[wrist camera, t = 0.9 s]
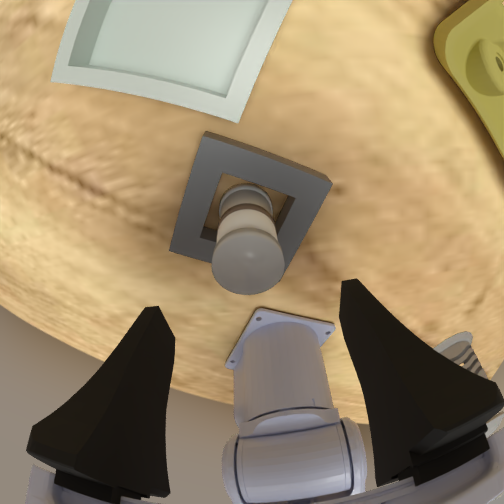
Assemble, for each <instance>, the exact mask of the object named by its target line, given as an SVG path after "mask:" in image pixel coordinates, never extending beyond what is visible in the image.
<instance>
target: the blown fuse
mask: <svg viewBox="0 0 504 504" xmlns="http://www.w3.org/2000/svg"><path fill="white" fill-rule="evenodd" d="M272 215H273V208H272V204H271V200H270V197H269V195H268V194H267V192H266V191H265V190H264V189H262V188H261V187H259V186H257V185H255V184H250V183H241V184H237V185H234V186H232V187H231V188H229V189H228V190H227V191H226V192H225V193H224V195H223V196H222V198H221V201H220V207H219V217H220V219H219V223H218V230H217V243H216V246H215V248H214V251H213V258H212V273H213V275H214V278H215V279H216V281H217V282H218V283H219V284H220V285H221V286H222V287H223V288H225V289H227V290H228V291H231V292H233V293H236V294H242V295H253V294H258V293H262V292H264V291H267V290H269V289H270V288H272V287H273V286H274V285H276V284H277V283H278V281H279V280H280V279H281V277H282V275H283V272H284V267H285V263H284V258H283V253H282V249H281V246H280V244H279V242H278V239H277V234H276V227H275V222H274V219H273V216H272Z"/></svg>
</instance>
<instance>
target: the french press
mask: <svg viewBox="0 0 504 504" xmlns="http://www.w3.org/2000/svg"><path fill="white" fill-rule="evenodd" d="M472 338H473V336H472V334H471V333H470V332H462V333H458V334H456V335H454V336H452V337H450V338H448V339H446V340H444V341H443V342H442V343H440V344H439V345H437V346H436V347H435V348H433V349H434V350H436V351H437V352H438V353H440V354H442V355H443V356H445V357H446V358H448V359H450V360H451V361H453V362H454V363H456V364H458V365H460V364H461V363H463V362H464V364H465V365H464V366H462V367H463V368H465V369H467V370H469V371H471V372H473V373H475V374H477V375H479V376H482V377H484V378H486V379H488V378H487V376H486V373H485V371H484V369H483V368H482V366H481V364H480V362H479V361H478V358H477V356H476V354H475V353H474V350H473V349H472V348H471V343H472ZM503 417H504V412H500V413H499V414H497V415H495V416H493V417H492V418H491V419H490V420H489V421H488V422H486V425H487V427H488V431H487V432H486V433H485V435H486V438H487V437H488V436H490V435H491V434H492V433H493V432H494V431H495V429H496V428H497V427H498V426H499V424H500V423H501V421H502V419H503ZM503 493H504V491H503V492H502V493H501V494H499V495H498V496H497V497H496V498H494V499H497V498H500V497H501V496H502V495H503Z"/></svg>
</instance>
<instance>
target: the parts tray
mask: <svg viewBox="0 0 504 504" xmlns="http://www.w3.org/2000/svg"><path fill="white" fill-rule="evenodd" d="M292 1H293V0H76V1H75V4H74V6H73V9H72V11H71V14H70V16H69V19H68V22H67V25H66V28H65V31H64V34H63V37H62V40H61V43H60V46H59V50H58V53H57V57H56V61H55V65H54V69H53V73H52V77H51V82H57V83H66V84H74V85H82V86H89V87H95V88H101V89H107V90H113V91H118V92H123V93H128V94H133V95H138V96H142V97H147V98H151V99H155V100H160V101H164V102H168V103H172V104H175V105H179V106H183V107H187V108H190V109H194V110H197V111H201V112H204V113H207V114H211V115H214V116H217V117H220V118H223V119H226V120H229V121H233V122H236V123H239V120H240V118H241V115H242V113H243V110H244V108H245V105H246V103H247V100H248V98H249V95H250V93H251V91H252V88H253V86H254V83H255V81H256V79H257V76H258V74H259V72H260V69H261V67H262V65H263V63H264V60H265V58H266V56H267V54H268V51H269V49H270V47H271V45H272V42H273V40H274V38H275V36H276V34H277V32H278V29H279V27H280V25H281V23H282V21H283V19H284V17H285V15H286V13H287V11H288V9H289V7H290V5H291V3H292Z"/></svg>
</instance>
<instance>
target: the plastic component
mask: <svg viewBox="0 0 504 504" xmlns="http://www.w3.org/2000/svg"><path fill="white" fill-rule="evenodd" d="M503 1H504V0H469V1H468V2H466V3H465V4H464V5H462V6H461V7H460V8H459V9H457V10H456V11H455V12H454V13H452V14H451V15H450V16H449V17H447V18H446V19H445V20H444V21H442V22H441V23H440V24H439V25H438V27H437V28H436V30H435V33H434V39H433V44H434V50H435V54H436V56H437V58H438V60H439V62H440V64H441V65H442V66H443V67H444V69H445V70H446V71H447V72H448V74H449V75H450V76H451V77H452V79H453V80H454V81H455V83H456V84H457V85H458V87H459V88H460V89H461V91H462V92H463V94H464V95H465V96H466V98H467V99H468V101H469V102H470V104H471V105H472V107H473V108H474V110H475V111H476V113H477V114H478V116H479V117H480V119H481V121H482V122H483V124H484V126H485V127H486V129H487V131H488V132H489V134H490V136H491V138H492V139H493V141H494V143H495V145H496V147H497V149H498V150H499V152H500V154H501V156H502V157H503V159H504V6H503V4H502V2H503Z"/></svg>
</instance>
